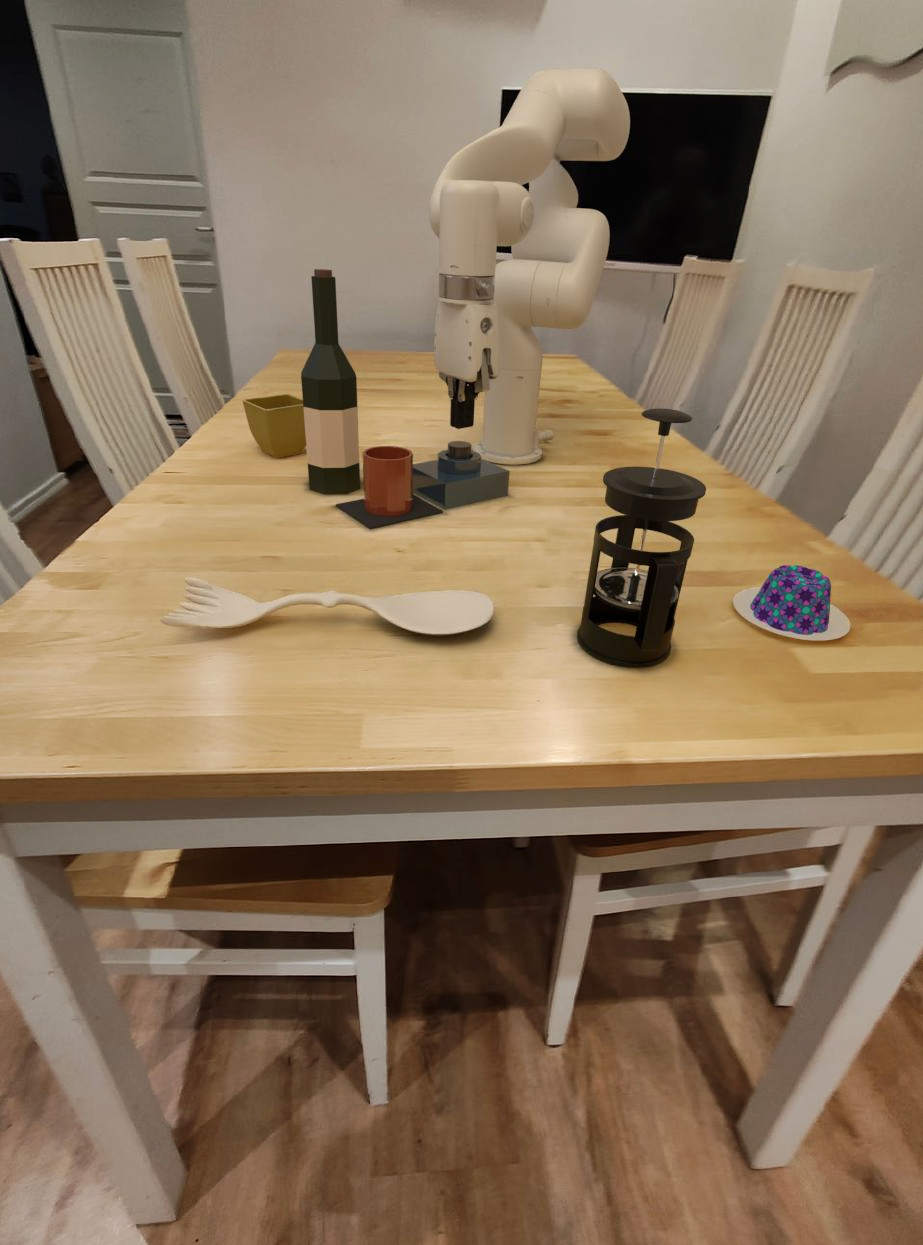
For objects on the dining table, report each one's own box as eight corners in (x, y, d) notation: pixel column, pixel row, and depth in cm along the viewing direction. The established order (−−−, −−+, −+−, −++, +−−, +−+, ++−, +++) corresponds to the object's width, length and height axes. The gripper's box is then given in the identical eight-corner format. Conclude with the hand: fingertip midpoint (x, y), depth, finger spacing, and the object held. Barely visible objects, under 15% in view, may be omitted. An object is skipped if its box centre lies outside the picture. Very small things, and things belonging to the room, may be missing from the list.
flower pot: (271, 463, 114) (265, 409, 109) (247, 451, 119) (241, 398, 115) (316, 455, 119) (313, 403, 114) (292, 443, 124) (287, 393, 120)
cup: (396, 496, 101) (395, 443, 97) (421, 510, 97) (422, 455, 93) (356, 504, 98) (354, 449, 94) (380, 519, 93) (378, 462, 89)
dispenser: (469, 478, 112) (471, 441, 109) (507, 496, 105) (510, 458, 102) (407, 490, 105) (407, 451, 102) (444, 510, 99) (446, 469, 96)
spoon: (190, 601, 72) (185, 572, 70) (488, 604, 74) (490, 575, 73) (163, 647, 64) (156, 615, 62) (497, 647, 67) (500, 617, 65)
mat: (405, 492, 104) (405, 490, 104) (443, 513, 97) (443, 510, 97) (335, 506, 98) (335, 504, 98) (370, 529, 91) (370, 527, 91)
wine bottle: (351, 497, 101) (341, 273, 86) (298, 492, 103) (280, 269, 87) (368, 480, 108) (362, 270, 93) (319, 475, 110) (305, 266, 95)
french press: (564, 617, 73) (595, 396, 61) (648, 615, 74) (694, 398, 62) (596, 680, 63) (640, 430, 51) (692, 677, 64) (757, 431, 52)
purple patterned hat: (864, 653, 69) (882, 608, 66) (741, 638, 70) (754, 593, 68) (829, 599, 79) (844, 558, 76) (723, 587, 81) (734, 546, 78)
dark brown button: (461, 452, 105) (462, 439, 104) (475, 459, 102) (476, 445, 101) (442, 456, 103) (443, 442, 102) (456, 462, 100) (457, 448, 99)
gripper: (524, 295, 88) (513, 435, 97) (456, 283, 98) (453, 412, 108) (478, 297, 84) (472, 443, 94) (412, 285, 94) (413, 418, 104)
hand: (461, 426), depth 101 cm, fingers closed
